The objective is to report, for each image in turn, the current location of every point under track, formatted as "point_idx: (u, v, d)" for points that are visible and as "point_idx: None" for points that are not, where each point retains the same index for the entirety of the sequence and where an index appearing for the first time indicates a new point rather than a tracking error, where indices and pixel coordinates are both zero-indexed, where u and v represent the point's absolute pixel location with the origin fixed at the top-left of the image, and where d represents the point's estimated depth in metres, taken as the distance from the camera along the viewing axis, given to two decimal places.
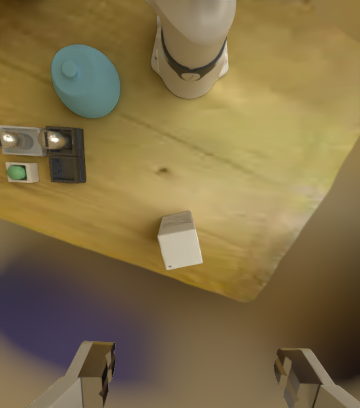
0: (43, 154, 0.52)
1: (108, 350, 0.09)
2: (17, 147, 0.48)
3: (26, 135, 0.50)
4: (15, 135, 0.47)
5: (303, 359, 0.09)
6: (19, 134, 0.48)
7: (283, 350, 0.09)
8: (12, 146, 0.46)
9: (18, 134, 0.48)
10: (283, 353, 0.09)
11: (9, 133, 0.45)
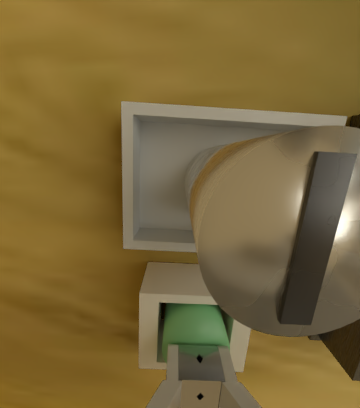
0: None
1: (197, 353, 0.09)
2: None
3: None
4: None
5: (216, 356, 0.09)
6: None
7: (199, 347, 0.09)
8: None
9: None
10: (198, 350, 0.09)
11: None
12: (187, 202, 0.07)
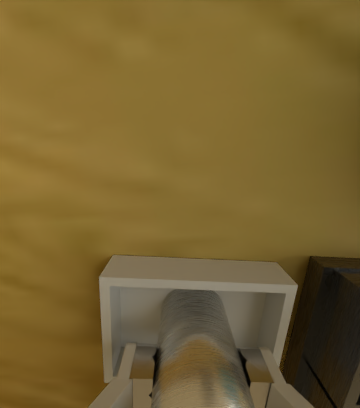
0: None
1: (153, 352, 0.09)
2: None
3: (220, 309, 0.11)
4: (250, 400, 0.07)
5: (259, 358, 0.09)
6: (230, 347, 0.09)
7: (241, 349, 0.09)
8: None
9: (233, 356, 0.08)
10: (240, 352, 0.09)
11: None
12: None
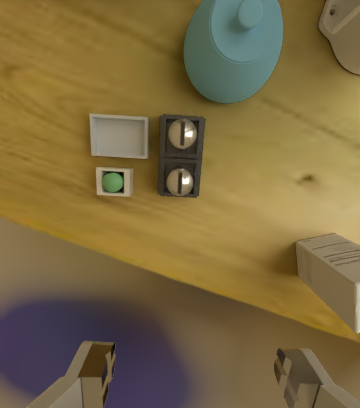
0: (147, 156, 0.36)
1: (108, 350, 0.09)
2: None
3: (187, 170, 0.36)
4: None
5: (303, 359, 0.09)
6: None
7: (283, 350, 0.09)
8: None
9: None
10: (283, 353, 0.09)
11: (189, 173, 0.31)
12: None
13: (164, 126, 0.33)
